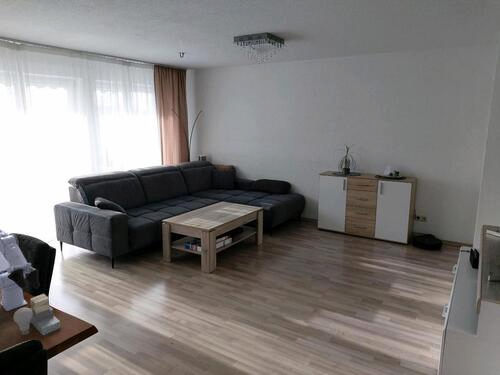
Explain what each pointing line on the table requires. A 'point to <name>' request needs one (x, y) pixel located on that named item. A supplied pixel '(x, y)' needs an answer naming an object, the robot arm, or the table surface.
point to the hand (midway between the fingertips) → (31, 287)
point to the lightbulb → (23, 319)
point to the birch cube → (40, 304)
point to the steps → (45, 321)
